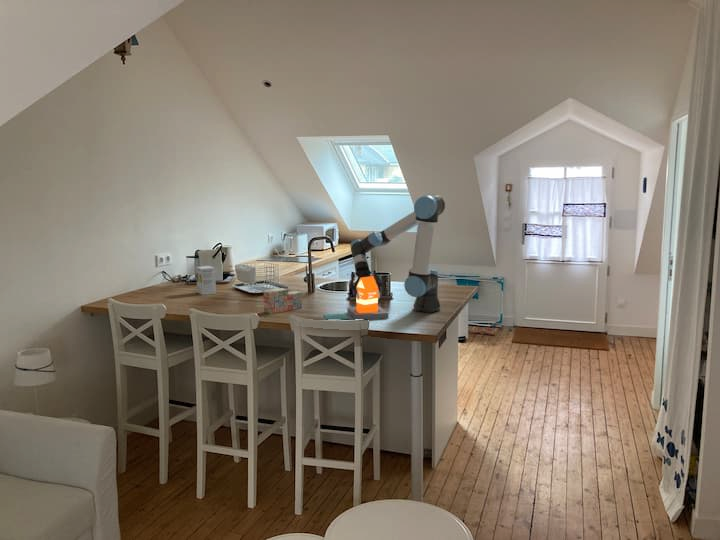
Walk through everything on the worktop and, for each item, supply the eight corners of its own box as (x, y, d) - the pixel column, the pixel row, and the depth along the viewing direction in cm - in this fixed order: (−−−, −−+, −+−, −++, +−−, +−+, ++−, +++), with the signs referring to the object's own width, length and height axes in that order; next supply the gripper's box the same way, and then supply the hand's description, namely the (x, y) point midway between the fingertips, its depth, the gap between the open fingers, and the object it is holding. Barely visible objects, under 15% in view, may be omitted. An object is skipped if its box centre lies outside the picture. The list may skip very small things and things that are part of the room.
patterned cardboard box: (295, 306, 344) (295, 285, 342) (302, 308, 339) (301, 287, 337) (263, 312, 330) (263, 290, 328) (269, 314, 325) (269, 292, 323)
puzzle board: (378, 310, 332) (378, 305, 332) (388, 318, 315) (388, 313, 314) (347, 312, 328) (347, 307, 327) (355, 320, 311) (355, 315, 310)
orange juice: (356, 313, 322) (356, 276, 318) (369, 310, 327) (369, 275, 323) (364, 315, 315) (364, 278, 312) (378, 313, 321) (378, 276, 317)
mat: (345, 314, 324) (345, 313, 324) (350, 319, 313) (350, 318, 313) (323, 315, 321) (323, 314, 321) (327, 321, 310) (327, 320, 310)
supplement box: (196, 292, 382) (195, 266, 379) (210, 291, 388) (209, 265, 385) (202, 295, 374) (201, 268, 372) (216, 293, 380) (215, 267, 377)
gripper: (379, 267, 335) (388, 300, 323) (340, 269, 329) (346, 303, 317) (382, 259, 329) (391, 292, 317) (341, 261, 323) (349, 295, 311)
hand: (368, 297), depth 317 cm, fingers closed on orange juice, 10 cm apart
